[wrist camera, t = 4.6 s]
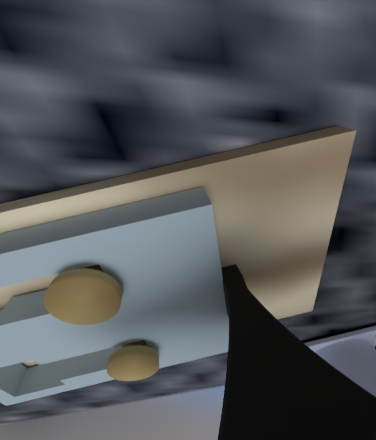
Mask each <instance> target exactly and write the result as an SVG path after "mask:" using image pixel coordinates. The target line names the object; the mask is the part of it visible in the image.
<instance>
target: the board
mask: <svg viewBox="0 0 376 440" xmlns="http://www.w3.org/2000/svg"><path fill="white" fill-rule="evenodd" d="M355 134H356V130H354V129H349V128H345V127H340V126H335V127H331V128H326V129H322V130H318V131H313V132H309V133H305V134H300V135H296V136H292V137H287V138H283V139H279V140H274V141H270V142H266V143H262V144H257V145H253V146H249V147H244V148H240V149H236V150H231V151H227V152H223V153H218V154H214V155H210V156H205V157H201V158H197V159H192V160H188V161H184V162H179V163H175V164H171V165H167V166H162V167H158V168H154V169H149V170H145V171H141V172H136V173H132V174H128V175H123V176H119V177H115V178H110V179H106V180H102V181H97V182H93V183H89V184H85V185H80V186H76V187H72V188H67V189H63V190H59V191H54V192H50V193H46V194H41V195H37V196H33V197H28V198H24V199H20V200H15V201H11V202H7V203H2V204H0V234H2V233H6V232H11V231H15V230H19V229H24V228H28V227H32V226H36V225H41V224H45V223H49V222H54V221H58V220H62V219H66V218H71V217H75V216H79V215H84V214H88V213H92V212H96V211H101V210H105V209H109V208H114V207H118V206H122V205H126V204H131V203H135V202H139V201H144V200H148V199H152V198H156V197H161V196H165V195H169V194H174V193H178V192H182V191H186V190H191V189H195V188H199V187H204V189H205V191H206V193H207V195H208V197H209V199H210V201H211V203H212V207H213V214H214V221H215V228H216V235H217V242H218V249H219V256H220V263H221V267H226V266H230V265H234V264H236V265H237V267H238V268H239V270H240V272H241V274H242V275H243V278H244V280H245V283H246V285H247V288H248V289H249V290H250V292H251V293H252V294H253V295H254V296H255V297H256V298H257V299H258V300H259V302H260V303H261V304H262V305H263V306H264V307H265V308H266V309H267V310H268V311H269V312H270V313H271V314H272V315H273V316H274V317H275V318H276V319H281V318H285V317H289V316H293V315H297V314H301V313H305V312H310V311H313V307H314V303H315V299H316V295H317V290H318V286H319V282H320V278H321V274H322V270H323V266H324V262H325V257H326V253H327V249H328V245H329V241H330V237H331V233H332V229H333V224H334V220H335V216H336V212H337V208H338V204H339V200H340V196H341V192H342V187H343V183H344V179H345V175H346V171H347V167H348V163H349V159H350V154H351V150H352V146H353V142H354V138H355ZM46 289H47V291H46V293H45V295H44V299H43V302H44V306H45V308H46V310H47V311H48V312H49V313H50V314H51V315H52V316H54V317H55V318H57V319H59V320H61V321H64V322H67V323H70V324H76V325H93V324H98V323H102V322H105V321H107V320H109V319H111V318H112V317H113V316H115V315H116V314H117V312H118V311H119V309H120V305H121V298H122V288H121V286H120V284H119V283H118V281H117V280H116V279H115V278H113V277H112V276H110V275H109V274H107V273H104V272H103V270H102V268H101V267H100V265H99V264H98V265H94V266H89V267H85V268H79V269H72V270H68V271H65V272H63V273H60V274H56V275H51V276H47V277H43V278H39V279H34V280H30V281H26V282H22V283H18V284H13V285H9V286H5V287H1V288H0V309H4V307H5V306H6V304H7V303H8V301H9V300H10V298H12V297H16V296H20V295H25V294H29V293H33V292H37V291H41V290H46ZM228 319H229V317H228ZM21 364H22V365H24V366H25V367H27V368H29V367H34V366H38V365H39V364H38V363H36V362H35V361H34V360H30V361H26V362H22V363H21ZM158 369H159V354H158V352H157V351H156V350H155V349H153V348H151V347H148V346H147V344H146V342H145V341H144V340H141V341H137V342H133V343H129V344H125V345H122V348H120V349H118V350H116V351H114V352H113V353H112V354H111V355H110V356H109V360H108V366H107V374H108V375H109V376H110V377H112V378H114V379H117V380H122V381H135V380H141V379H144V378H147V377H150V376H152V375H153V374H155V373H156V372H157V371H158Z"/></svg>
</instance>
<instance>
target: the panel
mask: <svg viewBox="0 0 376 440" xmlns="http://www.w3.org/2000/svg"><path fill="white" fill-rule="evenodd" d="M98 264H99V265H100V267H101V268H102V270H103V272H104V273H107V274H109V275H110V276H112V277H113V278H115V279H116V280H117V281H118V283H119V284H120V286H121V288H122V298H121V305H120V309H119V311H118V312H117V314H116V315H115V316H113V317H112V318H111V319H109V320H107V321H105V322H102V323H98V324H93V325H76V324H70V323H67V322H64V321H61V320H59V319H57V318H55V317H54V316H52V315H51V314H50V313H49V312H48V311H47V310H46V308H45V306H44V302H43V299H44V295H45V293H46V291H47V289H46V290H41V291H37V292H33V293H29V294H25V295H20V296H16V297H12V298H10V300H9V301H8V303H7V304H6V306H5V307H4V309H0V403H2V404H4V405H6V406H7V405H11V404H15V403H19V402H23V401H28V400H32V399H36V398H40V397H44V396H48V395H52V394H56V393H60V392H64V391H69V390H73V389H77V388H81V387H85V386H89V385H93V384H97V383H101V382H105V381H110V380H114V378H112V377H110V376H109V375H108V374H107V366H108V360H109V356H110V355H111V354H112V353H113V352H114V351H116V350H118V349H120V348H122V345H125V344H129V343H133V342H137V341H141V340H144V341H145V342H146V344H147V346H148V347H151V348H153V349H155V350H156V351H157V352H158V354H159V368H163V367H167V366H171V365H175V364H179V363H183V362H187V361H192V360H196V359H200V358H204V357H208V356H212V355H216V354H220V353H224V352H228V344H229V319H228V315H227V310H226V303H225V296H224V289H223V282H222V281H223V277H222V270H221V263H220V256H219V249H218V242H217V235H216V228H215V221H214V214H213V207H212V203H211V201H210V199H209V197H208V195H207V193H206V191H205V189H204V187H199V188H195V189H191V190H186V191H182V192H178V193H174V194H169V195H165V196H161V197H156V198H152V199H148V200H144V201H139V202H135V203H131V204H126V205H122V206H118V207H114V208H109V209H105V210H101V211H96V212H92V213H88V214H84V215H79V216H75V217H71V218H66V219H62V220H58V221H54V222H49V223H45V224H41V225H36V226H32V227H28V228H24V229H19V230H15V231H11V232H6V233H2V234H0V288H1V287H5V286H9V285H13V284H18V283H22V282H26V281H30V280H34V279H39V278H43V277H47V276H51V275H56V274H60V273H63V272H65V271H68V270H72V269H79V268H85V267H89V266H94V265H98ZM30 360H34V361H35V362H36V363H38V364H39V365H38V366H34V367H29V368H27V367H25V366H24V365H22V364H21V363H22V362H26V361H30Z"/></svg>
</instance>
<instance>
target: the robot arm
mask: <svg viewBox="0 0 376 440" xmlns="http://www.w3.org/2000/svg"><path fill="white" fill-rule="evenodd" d="M221 270H222V277H223V281H222V282H223V289H224V296H225V303H226V310H227V315H228V317H229V344H228V360H227V372H226V382H225V391H224V399H223V408H222V415H221V422H220V428H219V435H218V440H376V349H375V348H374V347H375V345H376V326H372V327H368V328H364V329H360V330H356V331H352V332H348V333H343V334H339V335H335V336H331V337H327V338H323V339H319V340H315V341H311V342H307V343H303V342H302V341H301V340H299V339H298V338H297V337H296V336H295V335H294V334H292V333H291V332H290V331H289V330H288V329H287V328H286V327H285V326H284V325H282V324H281V323H280V322H279V321H278V320H277V319H276V318H275V317H274V316H273V315H272V314H271V313H270V312H269V311H268V310H267V309H266V308H265V307H264V306H263V305H262V304H261V303H260V302H259V300H258V299H257V298H256V297H255V296H254V295H253V294H252V293H251V292H250V290H249V289H248V288H247V285H246V283H245V280H244V278H243V275H242V274H241V272H240V270H239V268H238V267H237V265H236V264H234V265H230V266H226V267H221Z"/></svg>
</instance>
